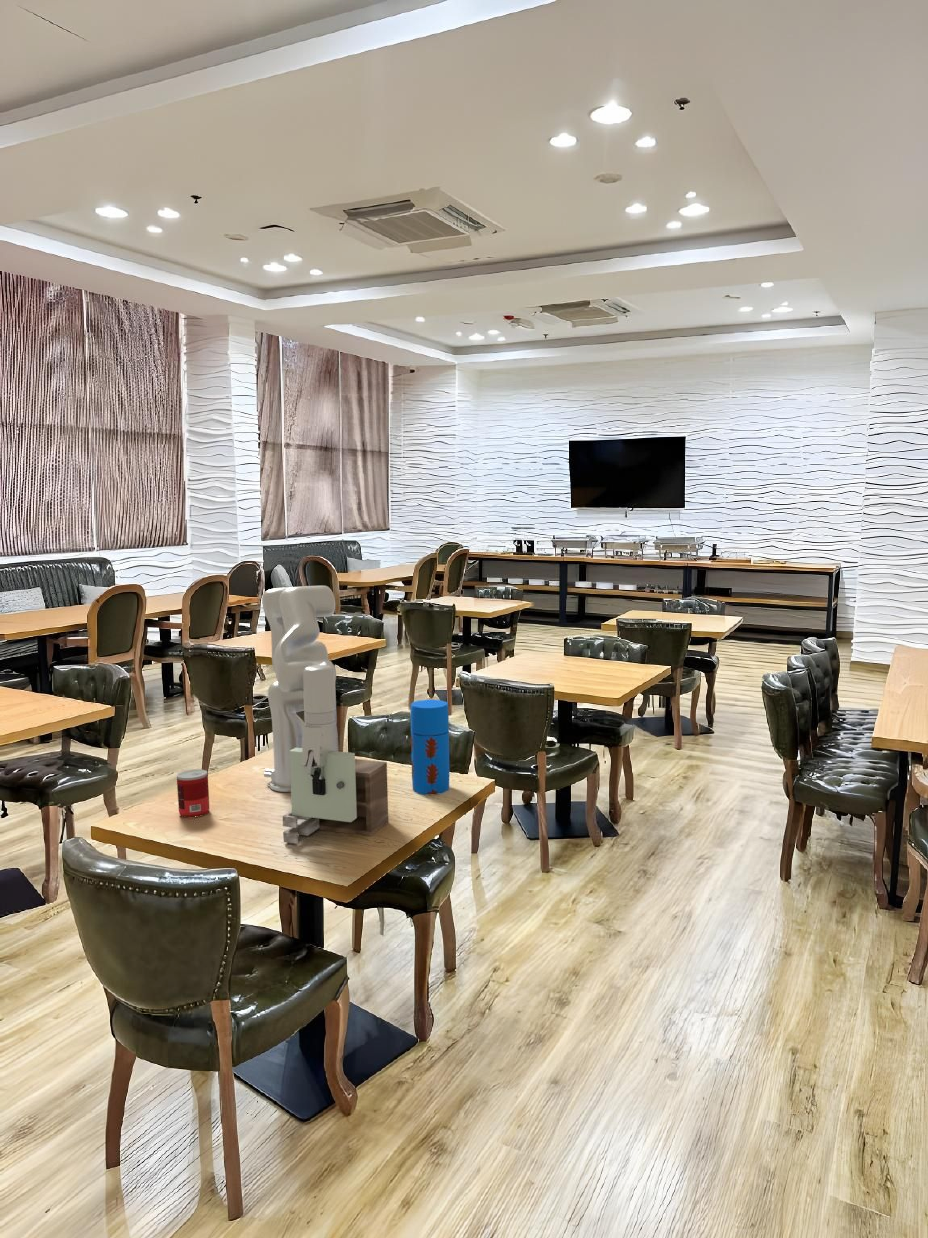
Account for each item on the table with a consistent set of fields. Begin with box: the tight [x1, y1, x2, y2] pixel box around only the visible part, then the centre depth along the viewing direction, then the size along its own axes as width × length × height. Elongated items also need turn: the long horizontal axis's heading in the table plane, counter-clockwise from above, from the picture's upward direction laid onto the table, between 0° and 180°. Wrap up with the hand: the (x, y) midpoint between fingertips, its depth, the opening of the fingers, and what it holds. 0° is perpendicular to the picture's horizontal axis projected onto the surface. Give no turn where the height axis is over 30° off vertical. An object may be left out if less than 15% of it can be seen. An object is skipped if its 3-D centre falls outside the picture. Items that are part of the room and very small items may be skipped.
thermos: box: [409, 699, 450, 796], centre depth 248 cm, size 11×11×25 cm
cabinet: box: [282, 758, 389, 845], centre depth 217 cm, size 19×21×16 cm
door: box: [289, 748, 357, 822], centre depth 208 cm, size 16×4×16 cm, turn 70°
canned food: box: [176, 768, 210, 818], centre depth 232 cm, size 8×8×11 cm
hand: (323, 791), depth 209 cm, fingers closed on door, 3 cm apart
